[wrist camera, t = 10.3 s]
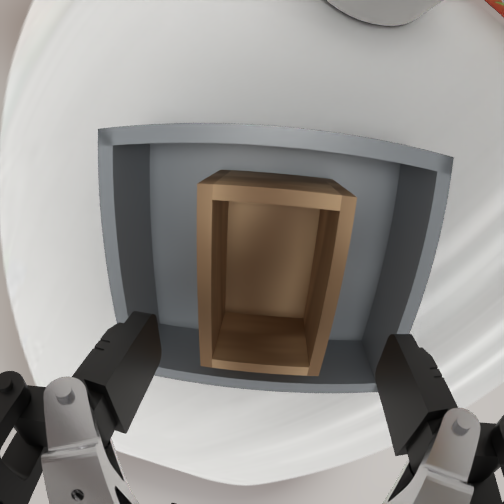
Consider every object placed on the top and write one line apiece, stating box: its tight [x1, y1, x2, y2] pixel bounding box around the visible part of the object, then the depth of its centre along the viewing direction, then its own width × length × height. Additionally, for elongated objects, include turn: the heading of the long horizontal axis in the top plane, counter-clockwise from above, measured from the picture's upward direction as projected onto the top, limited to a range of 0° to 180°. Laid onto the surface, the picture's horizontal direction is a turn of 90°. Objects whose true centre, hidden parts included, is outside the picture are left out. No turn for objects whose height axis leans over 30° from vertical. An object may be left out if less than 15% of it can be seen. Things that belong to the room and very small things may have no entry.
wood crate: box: [197, 170, 357, 376], centre depth 15 cm, size 6×9×5 cm, turn 176°
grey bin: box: [98, 123, 453, 393], centre depth 15 cm, size 16×14×5 cm
